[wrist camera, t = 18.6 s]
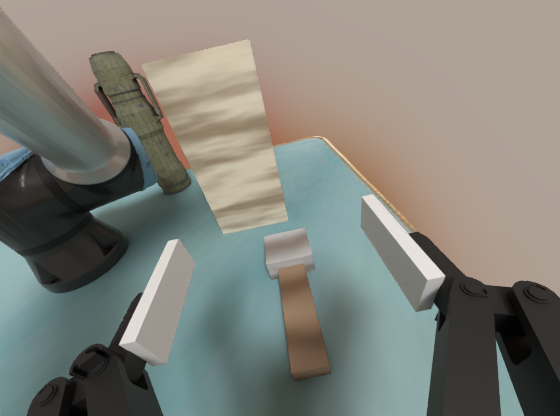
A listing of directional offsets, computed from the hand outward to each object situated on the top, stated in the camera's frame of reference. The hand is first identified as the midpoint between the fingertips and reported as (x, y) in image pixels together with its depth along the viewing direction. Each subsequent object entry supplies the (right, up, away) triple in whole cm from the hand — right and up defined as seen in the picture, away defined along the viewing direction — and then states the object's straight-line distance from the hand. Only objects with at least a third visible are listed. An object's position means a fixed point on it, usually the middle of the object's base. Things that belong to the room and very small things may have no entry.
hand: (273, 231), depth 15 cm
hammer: (+3, -11, +15) cm, 19 cm away
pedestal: (-5, +1, +33) cm, 33 cm away
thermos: (-32, +8, +52) cm, 62 cm away
